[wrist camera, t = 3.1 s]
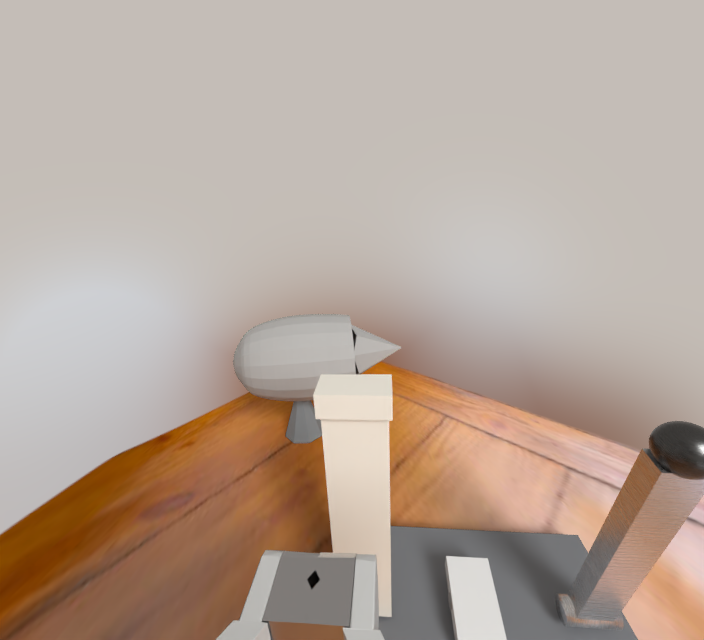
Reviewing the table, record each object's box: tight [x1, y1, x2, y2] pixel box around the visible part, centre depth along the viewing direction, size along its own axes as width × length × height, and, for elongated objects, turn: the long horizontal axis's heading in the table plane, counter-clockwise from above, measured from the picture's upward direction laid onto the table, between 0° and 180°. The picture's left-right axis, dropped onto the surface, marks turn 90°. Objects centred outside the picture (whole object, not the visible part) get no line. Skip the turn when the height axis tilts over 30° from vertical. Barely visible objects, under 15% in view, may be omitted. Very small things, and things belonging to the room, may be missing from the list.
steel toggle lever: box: [555, 421, 704, 630], centre depth 20 cm, size 3×4×19 cm
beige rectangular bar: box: [313, 374, 393, 617], centre depth 23 cm, size 2×4×19 cm, turn 85°
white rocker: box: [445, 556, 507, 640], centre depth 25 cm, size 5×3×1 cm, turn 175°
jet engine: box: [233, 314, 401, 443], centre depth 46 cm, size 15×20×18 cm
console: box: [378, 526, 638, 640], centre depth 28 cm, size 10×22×2 cm, turn 85°
